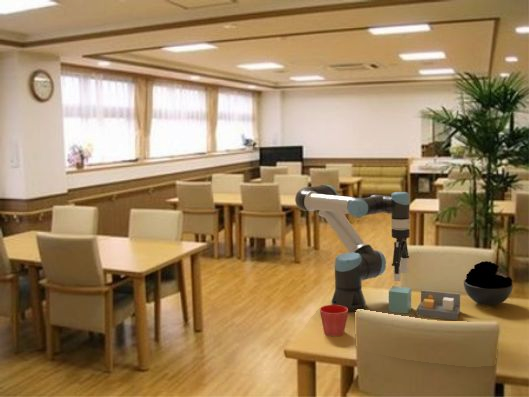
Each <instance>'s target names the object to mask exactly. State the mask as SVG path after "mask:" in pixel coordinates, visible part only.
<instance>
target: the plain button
mask: <svg viewBox="0 0 529 397" xmlns="http://www.w3.org/2000/svg"><path fill="white" fill-rule="evenodd" d="M443 310H451V311H453V310H454V298H446V297H444V298H443Z"/></svg>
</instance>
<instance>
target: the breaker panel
mask: <svg viewBox="0 0 529 397" xmlns="http://www.w3.org/2000/svg"><path fill="white" fill-rule="evenodd" d="M444 297H446V298H454V310H453V311H451V310H443V298H444ZM424 299H431V300H434V308H425V307H423V301H424ZM460 312H461V293H459V292H451V291H450V292H449V291H439V290H430V289H429V290H428V289H421V290H420V302H419V304H418V306H417V308H416V316H417V317H419V316H420V317H425V316H427V318H433V319H434V318H435V319H440V320H441V319H443V320H450V321H451V320H452V321H457V320H458V318H459V316H460Z"/></svg>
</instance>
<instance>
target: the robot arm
mask: <svg viewBox="0 0 529 397" xmlns="http://www.w3.org/2000/svg"><path fill="white" fill-rule="evenodd" d="M294 201H295V204H296V206H297V207H298V208H299V210H301V211H305V212H316V213H317V214H318V216H320V217H323V218H324V219H325V221H326V222H327V223H328V225H329V226H330V228H331V229H332V231H333V232H334V233H335V234H336V235H335V236H337V238H338V239H339V240H340V242H341V244H342V245H343V246H344V248H345V249H346V250H347V252H345V253H344V252H343V253H341V254H338V255H337V256H336V257H335V259H334V260H335V261H334V293H333V294H332V295H333V296H332V299H331V301H330V302H331V303H330V305H340V306H344V307H346V308H348V313H349V312H350V313H351V312H352V313H353V312H356V311H355V310H357V309H363V310H364V309H366V306H367V304H366V303H367V302H366V299H365V296H364V292H363V289H362V282H363V281H365V280H369V279H373V278H377V277H379V276H381V275H383V274H384V273H385V271H386V268H387V267H386V266H387V265H386V264H387V261H386V257H385V254H383V252H381V251H380V250H376V249H375V250H374V248H373V247H372V246H371V244H368V243H365V241H364V240H363V239H362V238H361V236H360V235H359V233H358V231H357V230H356V229H355V228H354V226H353V225H352V224H351V222H350V221H349V220H348V217H346V215H350V216H352V217H354V218H361V217H366V216H370V215H371V216H372V215H378V214H382V213H383V214H384V213H385V214H390V215H391V224H390V225H391V238H393V239H396V240H395V241H394V243H393V246H394V247H393V254H392V255H393V257H392V263H391V266H392V267H393V281H394V282H401V280H402V279H401V278H402V277H401V275H402V274H408V259H409V258H410V255H409V250H408V241H407V240H408V238H410V237H411V231H410V227H411V226H410V225H411V224H412V223H411V220H410V218H411V217H410V209H411V208H410V207H411V202H410V194H409V193H408V192H407V191H395V192H392V193H391V196H390V195H384V194H383V195H381V194H372V195H370V196H369V197H368V196H367V197H354V196H344V195H343V196H342V195H339V193H338V191H337V190H336V188H334V187H333V186H332V185H330V184H329V185H328V184H321V185H314V186H305V187H303V188H301V189H299V190H298V191H297V192H296V195H295V198H294Z"/></svg>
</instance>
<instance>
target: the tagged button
mask: <svg viewBox="0 0 529 397" xmlns="http://www.w3.org/2000/svg"><path fill="white" fill-rule="evenodd" d="M423 307H425V308H434V300H431V299H424V301H423Z"/></svg>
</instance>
